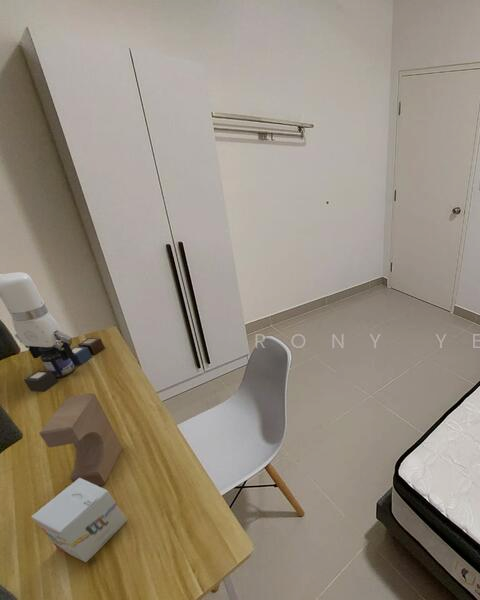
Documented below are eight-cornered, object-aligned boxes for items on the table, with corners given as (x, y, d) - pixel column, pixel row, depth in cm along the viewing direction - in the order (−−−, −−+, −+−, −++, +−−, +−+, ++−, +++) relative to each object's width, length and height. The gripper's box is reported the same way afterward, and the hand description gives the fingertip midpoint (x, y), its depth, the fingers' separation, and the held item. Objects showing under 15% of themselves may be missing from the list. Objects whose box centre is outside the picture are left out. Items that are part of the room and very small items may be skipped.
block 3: (94, 355, 120) (89, 345, 117) (82, 354, 120) (77, 344, 117) (105, 348, 124) (100, 338, 121) (93, 347, 124) (88, 337, 121)
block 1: (44, 391, 103) (37, 380, 101) (30, 390, 103) (23, 379, 101) (58, 381, 107) (51, 371, 105) (44, 380, 107) (38, 370, 105)
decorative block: (104, 485, 78) (69, 428, 69) (75, 491, 77) (35, 433, 67) (124, 447, 88) (96, 391, 78) (99, 451, 86) (66, 395, 77)
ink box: (55, 548, 67) (27, 515, 61) (100, 508, 74) (79, 475, 68) (85, 564, 65) (59, 532, 59) (128, 521, 72) (109, 488, 66)
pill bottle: (76, 364, 115) (62, 338, 110) (75, 373, 111) (61, 347, 106) (51, 371, 111) (36, 345, 106) (50, 381, 107) (34, 354, 102)
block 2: (81, 365, 115) (75, 354, 113) (68, 364, 115) (63, 353, 113) (92, 357, 119) (87, 346, 117) (80, 356, 119) (75, 346, 117)
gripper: (-13, 316, 96) (16, 362, 104) (45, 320, 96) (69, 365, 104) (15, 304, 103) (40, 348, 111) (69, 308, 103) (90, 351, 111)
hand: (54, 356), depth 108 cm, fingers open, 9 cm apart
